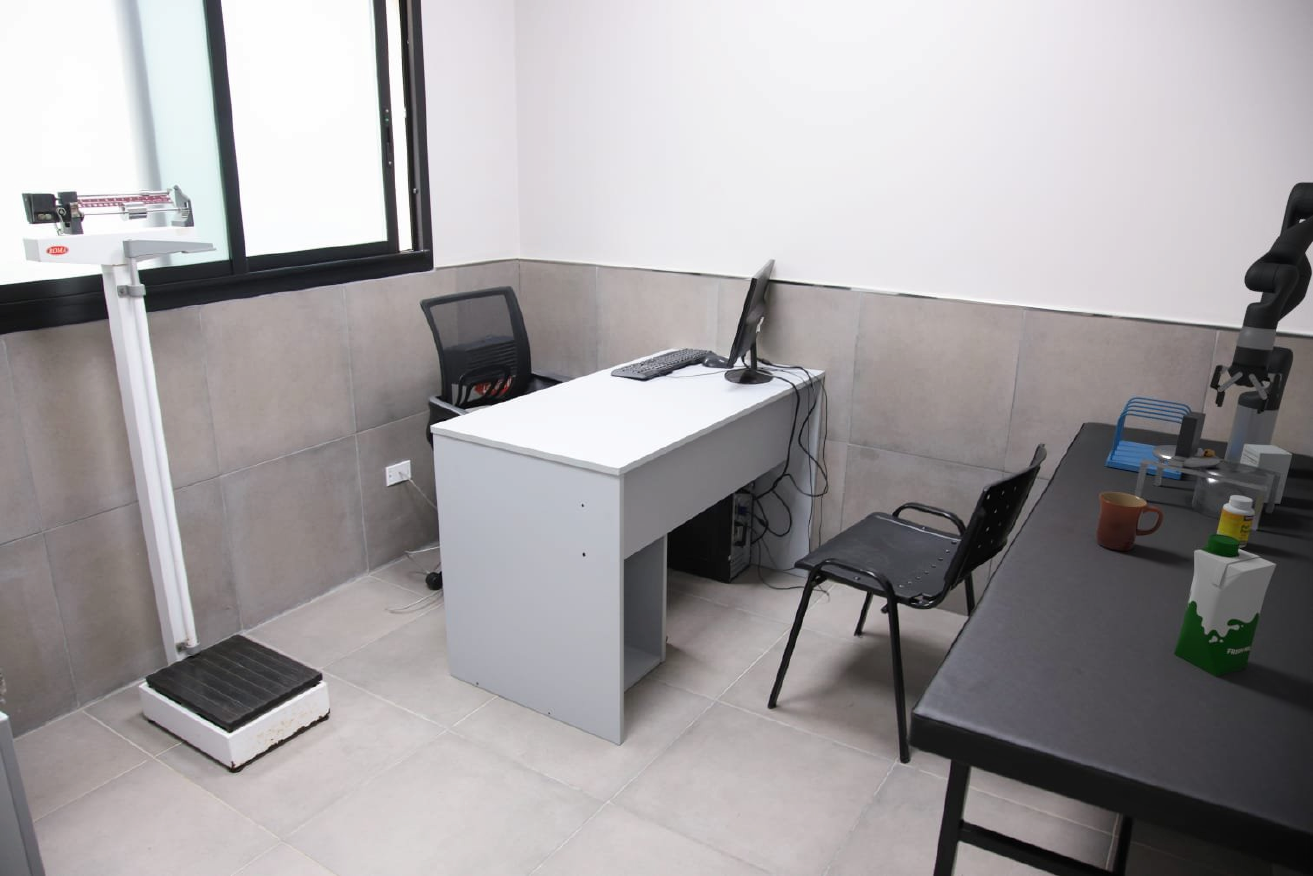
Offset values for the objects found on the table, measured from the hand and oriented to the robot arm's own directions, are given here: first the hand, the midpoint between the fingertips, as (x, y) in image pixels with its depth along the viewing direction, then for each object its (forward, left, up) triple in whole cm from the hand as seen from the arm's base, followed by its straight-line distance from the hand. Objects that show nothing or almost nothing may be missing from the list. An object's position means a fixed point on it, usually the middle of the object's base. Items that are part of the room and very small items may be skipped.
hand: (1238, 410), depth 218 cm
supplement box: (+8, +9, -19) cm, 23 cm away
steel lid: (+25, -4, -8) cm, 27 cm away
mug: (+66, -3, -19) cm, 69 cm away
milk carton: (+104, +22, -19) cm, 108 cm away
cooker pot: (+25, +2, -19) cm, 31 cm away
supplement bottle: (+46, +12, -19) cm, 51 cm away
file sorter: (-2, -19, -19) cm, 27 cm away
